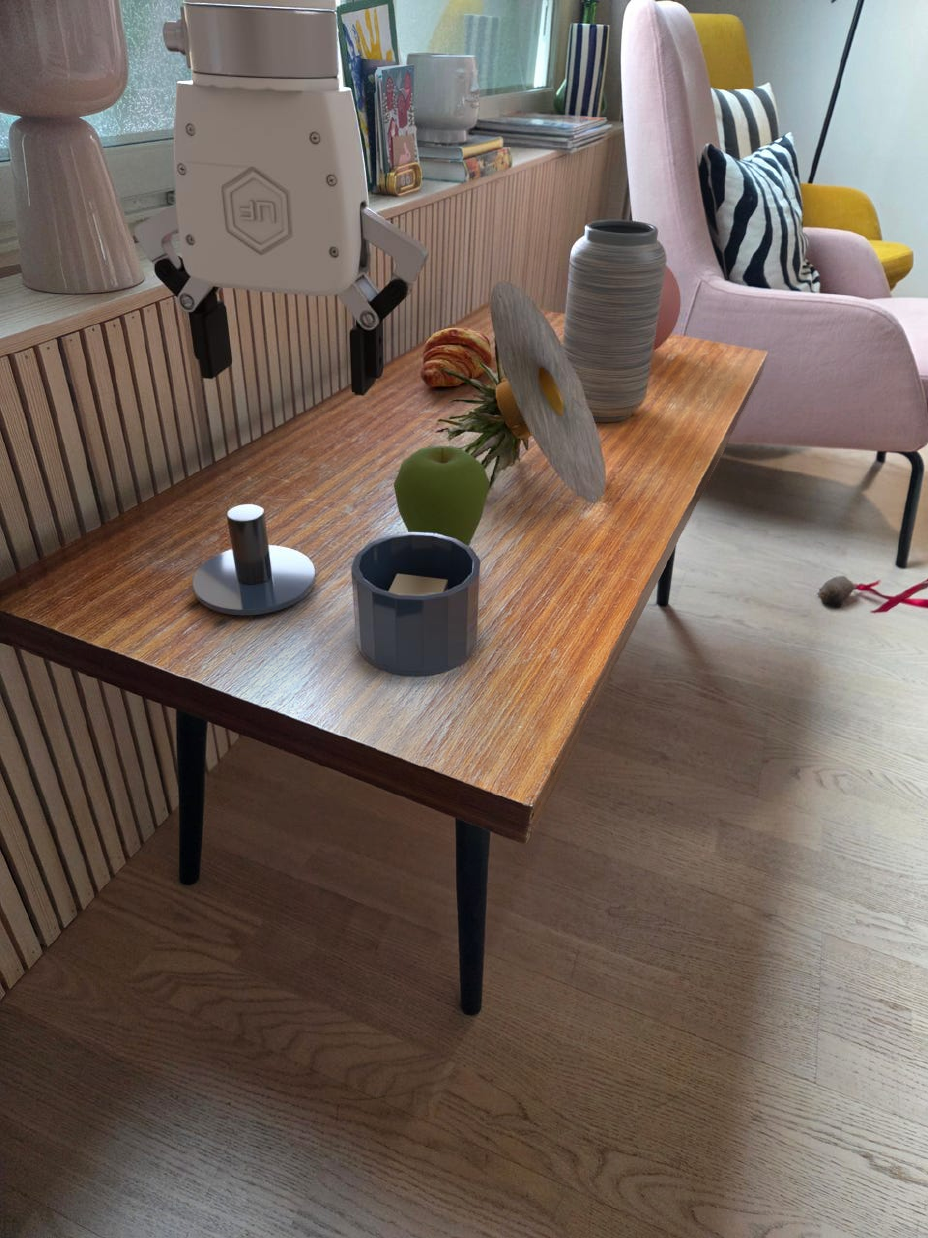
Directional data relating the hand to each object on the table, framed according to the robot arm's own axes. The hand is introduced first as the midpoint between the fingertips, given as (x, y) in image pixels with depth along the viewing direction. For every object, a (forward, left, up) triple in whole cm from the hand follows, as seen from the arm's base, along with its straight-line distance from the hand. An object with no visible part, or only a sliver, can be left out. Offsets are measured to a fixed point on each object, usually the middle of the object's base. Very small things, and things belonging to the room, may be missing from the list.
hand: (290, 379), depth 54 cm
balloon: (+59, +62, -25) cm, 89 cm away
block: (+9, +3, -24) cm, 26 cm away
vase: (+47, +45, -25) cm, 70 cm away
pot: (+9, +3, -25) cm, 26 cm away
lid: (-3, +15, -24) cm, 29 cm away
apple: (+15, +15, -25) cm, 33 cm away
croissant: (+33, +64, -25) cm, 76 cm away
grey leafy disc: (+29, +29, -25) cm, 48 cm away
